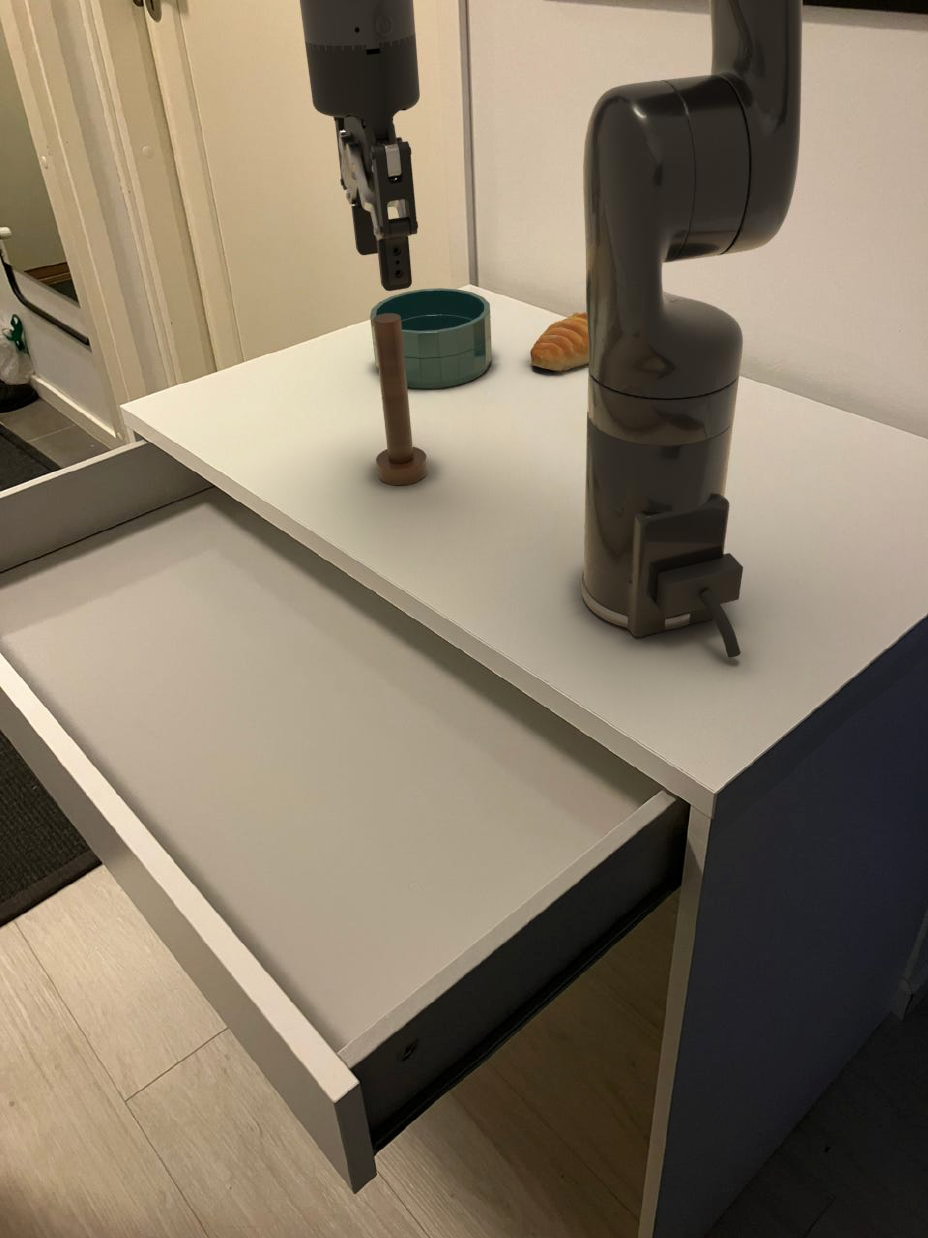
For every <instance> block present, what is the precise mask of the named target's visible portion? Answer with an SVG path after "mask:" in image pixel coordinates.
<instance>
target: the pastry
mask: <svg viewBox="0 0 928 1238" xmlns="http://www.w3.org/2000/svg"><path fill="white" fill-rule="evenodd" d="M529 353H530V361H531V366H535V367H538V368H541V369H547V370H550V371H556V372H557V371H558V372H560V373H561V372H562V371H564V372H566V371H569V370H570V369H573V368H580V367H582V366H585V365H587V364H588V365H589V340H588V327H587V315H586V311H583V312H577V311H576V312H574V313H573V314H572V315H571V316H568V317H567V318H564V319H562V320H558V321H554V322H553V323H551V324H550V325H549V326H548V327H547V328H546V330H544V332H543V333H542V334H541V335H539V337H538V339H536V341H535V343H534V344H533V346H532V348H531V349H530V351H529Z"/></svg>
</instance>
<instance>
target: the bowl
mask: <svg viewBox="0 0 928 1238" xmlns="http://www.w3.org/2000/svg"><path fill="white" fill-rule="evenodd" d="M385 313H394V314H398V315H399V316H400V317H401V325H402V336H403V347H404V358H405V369H406V379H407V388H412V389H426V390H429V389H430V390H431V389H442V388H449V387H455V386H459V385H462V384H465V383H469V382H471V381H473V380H475V379H478V378H479V377H480V376H482V375H483V374H484V373H485V372H486V371H487V370H488V368H489V366H490V362H491V361H492V360H493V352H492V351H493V350H492V349H493V348H492V347H493V346H492V323H491V321H492V320H491V304H490V302H489V301H488V300H487V299H486V298H485V297H484V296H482V295H479V294H477V293H476V292H472V291H469V290H463V289H457V288H444V287H443V288H442V287H441V288H438V287H437V288H422V289H421V288H420V289H414V290H407V291H404V292H401V293H398V294H395V295H394V294H393V295H391V296H389V297H387V298H385V299H383V300H381V301H379V302H378V303H376V304H375V306H373V307H372V308H371V311H370V315H369V318H370V328H371V337H372V338H371V339H372V346H373V354H374V364H375V366H376V367H377V370H379V368H378V359H377V350H376V341H375V332H374V322H373V319H374V317H376V316H377V315H380V314H385Z"/></svg>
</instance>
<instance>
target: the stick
mask: <svg viewBox="0 0 928 1238" xmlns="http://www.w3.org/2000/svg"><path fill="white" fill-rule="evenodd" d="M373 322H374V332H375V341H376V350H377V359H378V367H377V369H378V368H379V369H378V377H379V385H380V393H381V402H382V412H383V421H384V428H385V429H384V431H385V439H386V449H384V450H382V451H381V452H379V453H378V454H377V456H376V458H375V463H376V465H375V466H376V473H377V478H378V479H379V480H380V481H381V482H382V483H384V484H388V485H393V486H405V485H411V484H412V485H413V484H415V483H417V482H420V481H421V480H423V479H425V477H426V476H427V474H428V458H427V454H426V452H425V451H424V450H423V449H421V448H419V447H417V446H414V445H413V433H412V424H411V414H410V413H411V412H410V402H409V401H410V400H409V391H408V387H407V379H406V369H405V358H404V347H403V336H402V325H401V317H400V316H399V315H398V314H394V313H385V314H380V315H377V316H376V317H374V319H373Z"/></svg>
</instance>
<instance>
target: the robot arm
mask: <svg viewBox="0 0 928 1238" xmlns="http://www.w3.org/2000/svg"><path fill="white" fill-rule="evenodd" d="M708 5H709V16H710V17H709V18H710V29H711V31H710V32H711V66H710V74H704V75H696V76H687V77H679V78H677V77H676V78H669V79H660V80H650V81H642V82H634V83H628V84H621V85H618V86H613V87H611V88H610V89H608V90H605V92H604V93H603V94H601V96H600V97H599V98H598V99H597V101H596V103H595V105H594V106H593V108H592V111H591V114H590V117H589V119H588V122H587V128H586V133H585V137H584V138H585V139H584V144H583V145H584V146H583V161H582V179H583V180H582V192H583V194H582V195H583V196H582V197H583V217H584V218H583V221H584V242H585V243H584V244H585V246H584V247H585V312H586V315H587V327H588V340H589V363H588V371H587V409H586V410H587V412H586V442H585V443H586V447H585V448H586V449H585V483H584V484H585V485H584V487H585V489H584V493H585V494H584V526H583V527H584V528H583V529H584V531H583V572H582V575H581V595H582V598H583V601H584V602H585V604H586V606H587V607H588V609H590V610H591V611H592V612H593V613H594V614H595V615H597V616H598V617H599V618H601V619H604V620H605V621H607V622H608V623H611V624H613V625H616V626H619V627H622V628H626V629H627V630H628V631H629V632H630V633H631V634H632V635H633V636H634V637H636V638H640V637H645V636H649V635H652V634H653V635H654V634H657V633H662V632H665V631H669V630H674V629H678V628H683V627H686V626H690V625H693V624H698V623H701V622H707V621H709V620H713V622H714V624H715V625H716V627H717V629H718V631H719V633H720V635H721V638H722V641H723V644H724V647H725V651H726V655H727V657H728V658H730V659H732V658H737V657H738V656H740V655H741V650H740V646H739V643H738V642H739V641H738V638H737V635H736V632H735V630H734V627H733V625H732V623H731V621H730V619H729V617H728V615H727V613H726V612H725V610H724V609H723V607H722V605H723V604H726V603H731V602H734V601H738V600H739V599H740V593H741V586H742V578H743V571H744V566H743V565H742V564H741V563H740V562H739V561H738V560H737V559H736V558H735V557H734V555H732V553H730V552H728V553H725V547H726V538H727V530H728V522H729V515H730V506H731V505H730V501H729V500H728V499H727V498H726V497H725V496H726V488H727V487H726V486H727V478H728V471H729V461H730V455H731V454H730V453H731V447H732V446H731V445H732V437H733V430H734V429H733V428H734V419H735V413H736V406H737V405H736V404H737V397H738V389H739V380H740V373H741V367H742V366H741V365H742V360H743V359H742V357H743V348H744V347H743V346H744V335H743V331H742V328H741V326H740V324H739V322H738V321H737V320H736V319H735V318H734V316H732V315H730V314H729V313H728V312H727V311H724V310H723V309H721V308H719V307H717V306H715V305H713V304H710V303H707V302H704V301H701V300H697V299H695V298H694V299H693V298H689V297H685V296H681V295H677V294H674V293H670V292H666V291H664V289H663V264H667V263H675V262H681V261H690V260H696V259H705V258H711V257H715V256H716V257H717V256H718V257H719V256H723V255H731V254H737V253H743V252H747V251H748V252H749V251H752V250H753V251H754V250H756V249H759V248H761V247H765V246H766V245H767V244H769V242H771V241H772V240H773V239H774V237H776V236H777V234H778V233H779V232H780V230H781V228H782V226H783V224H784V222H785V220H786V219H787V216H788V213H789V209H790V207H791V205H792V200H793V197H794V195H793V194H794V191H795V187H796V181H797V175H798V166H799V159H800V158H799V157H800V156H799V155H800V145H801V144H800V142H801V117H802V115H801V113H802V65H803V64H802V63H803V61H802V59H803V58H802V57H803V0H708ZM414 6H415V5H414V0H299V7H300V16H301V23H302V30H303V38H304V45H305V51H306V52H305V54H306V61H307V68H308V75H309V85H310V92H311V101H312V105H313V107H314V109H315V110H316V111H317V112H318V113H320V114H322V115H324V116H328V117H333V121H334V126H335V133H336V141H337V142H336V143H337V144H336V145H337V153H338V163H339V170H340V179H339V180H340V186H341V187H342V189H343V191H346V193H345V198H346V201H348V205H349V206H351V217H352V225H353V233H354V240H355V249H356V251H357V253H359V254H360V255H361V256H370V255H375V254H376V255H377V257H378V258H377V259H378V269H379V278H380V284H381V286H382V288H383V289H384V290H385V291H386V292H393V291H400V290H407V289H409V288H410V287H411V286H412V283H413V278H412V277H413V276H412V265H411V253H410V241H409V237H411V236H413V235H417V234H418V229H419V223H418V220H417V219H418V218H417V209H416V198H415V186H414V176H413V165H412V164H413V163H412V148H411V146H410V144H409V141H407V140H405V141H403V137H401V136H397V133H396V126H395V124H394V117H395V116H396V115H397V113H399V112H400V111H407V110H409V109H411V108H413V107H415V106H416V105H417V104H418V102H419V101H420V97H421V93H420V92H421V91H420V90H421V89H420V77H419V63H418V61H419V60H418V49H417V36H416V35H417V33H416V22H415V8H414ZM389 208H395V209H396V211H397V216H398V217H395V218H389V210H388V209H389ZM721 604H722V605H721Z"/></svg>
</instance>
